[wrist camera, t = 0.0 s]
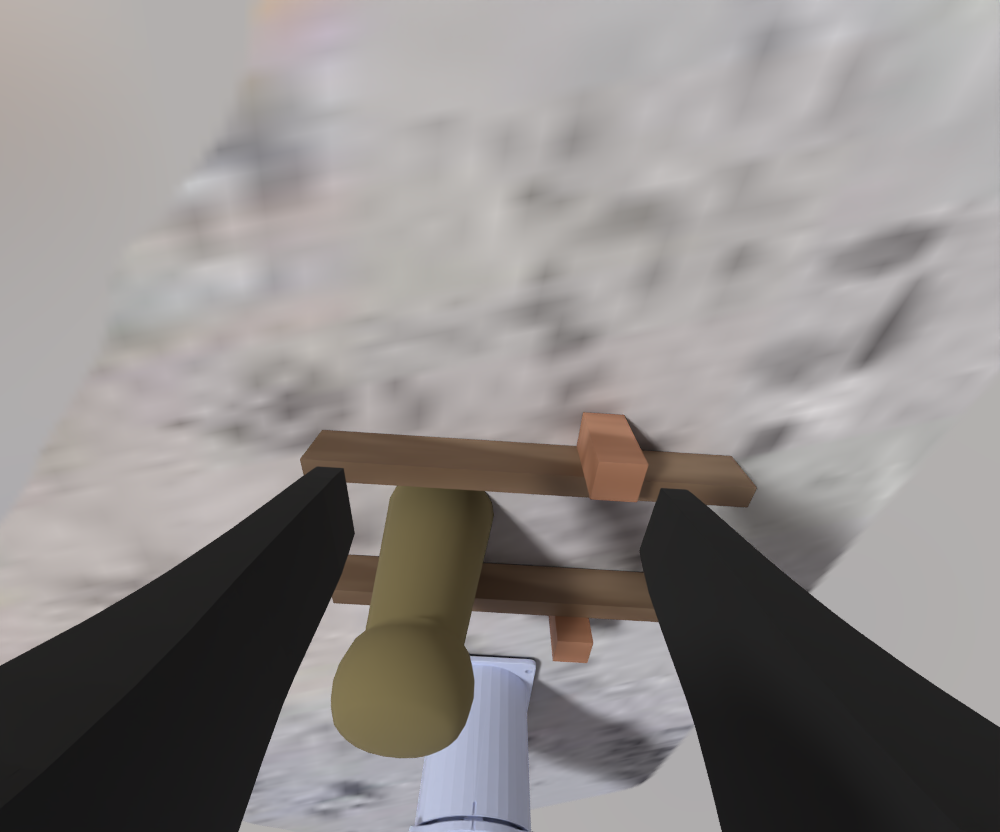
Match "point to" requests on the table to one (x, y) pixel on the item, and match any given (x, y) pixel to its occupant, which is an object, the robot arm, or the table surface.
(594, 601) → the guide channel
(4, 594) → the table surface
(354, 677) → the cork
